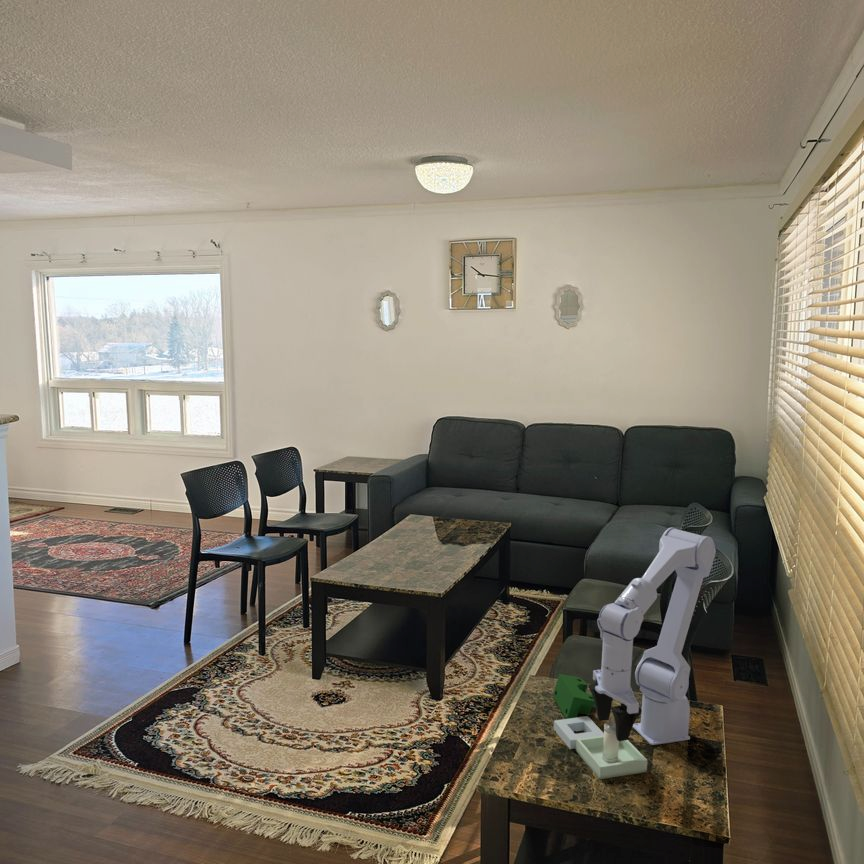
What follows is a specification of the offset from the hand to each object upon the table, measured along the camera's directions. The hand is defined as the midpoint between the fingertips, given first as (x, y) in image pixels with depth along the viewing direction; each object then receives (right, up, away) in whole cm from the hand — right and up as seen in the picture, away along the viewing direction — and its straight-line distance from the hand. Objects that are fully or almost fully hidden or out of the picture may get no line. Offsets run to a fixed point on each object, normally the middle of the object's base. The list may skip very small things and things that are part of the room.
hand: (612, 729), depth 154 cm
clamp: (-4, -4, +22) cm, 22 cm away
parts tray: (0, -7, +1) cm, 7 cm away
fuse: (0, -6, +1) cm, 6 cm away
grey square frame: (-5, -5, +10) cm, 12 cm away
